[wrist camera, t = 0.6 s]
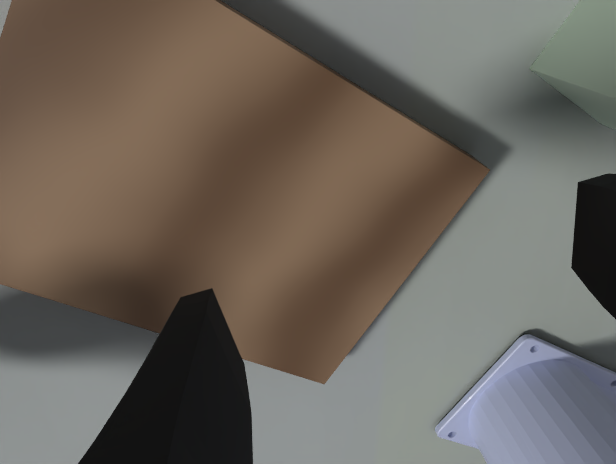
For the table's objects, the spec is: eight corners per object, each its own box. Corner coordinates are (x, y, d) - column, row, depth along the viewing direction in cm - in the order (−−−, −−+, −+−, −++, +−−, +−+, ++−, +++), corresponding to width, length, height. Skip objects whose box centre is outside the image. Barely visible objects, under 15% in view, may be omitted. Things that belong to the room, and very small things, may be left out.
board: (471, 155, 19) (490, 169, 18) (318, 361, 24) (324, 384, 22) (60, -99, 13) (44, -105, 12) (-49, 240, 17) (-70, 262, 16)
